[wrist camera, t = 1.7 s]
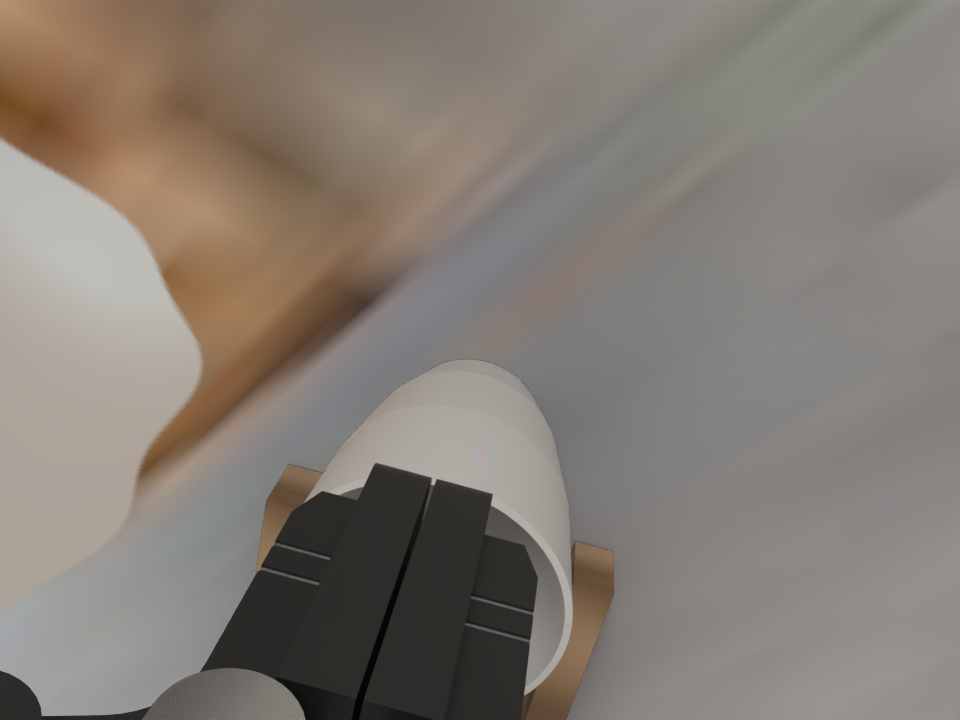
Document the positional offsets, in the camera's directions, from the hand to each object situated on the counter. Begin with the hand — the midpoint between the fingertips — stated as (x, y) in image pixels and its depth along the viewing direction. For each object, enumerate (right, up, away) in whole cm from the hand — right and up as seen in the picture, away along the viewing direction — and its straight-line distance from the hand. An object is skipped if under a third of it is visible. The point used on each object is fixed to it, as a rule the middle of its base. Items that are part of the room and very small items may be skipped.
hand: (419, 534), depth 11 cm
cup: (0, 0, +22) cm, 22 cm away
